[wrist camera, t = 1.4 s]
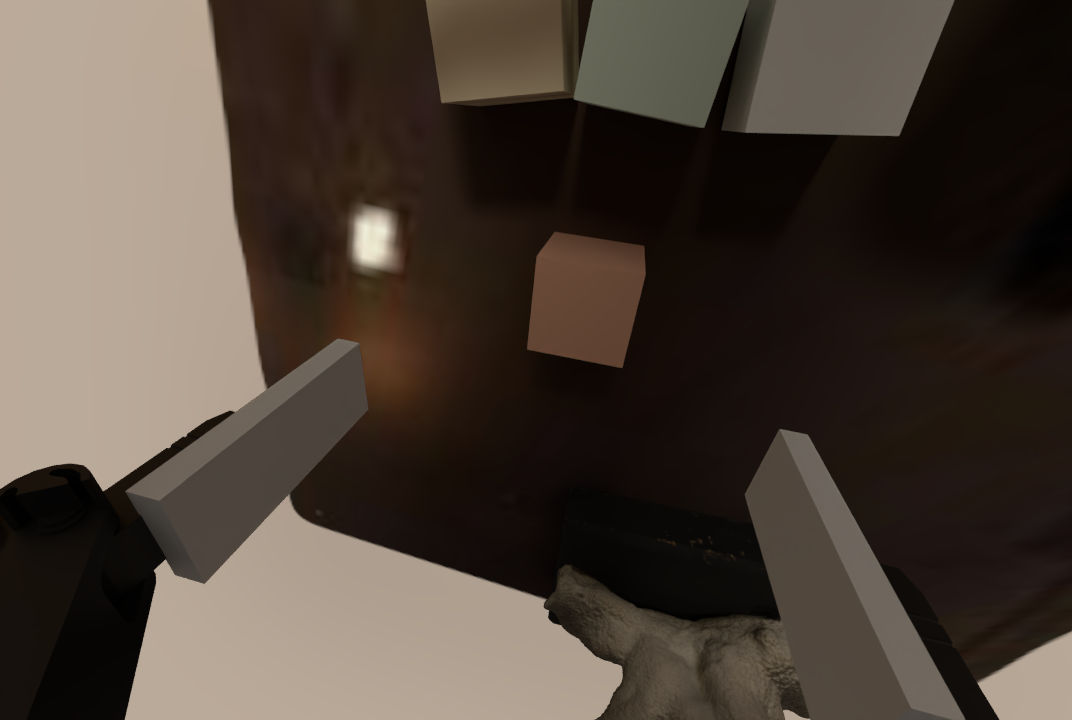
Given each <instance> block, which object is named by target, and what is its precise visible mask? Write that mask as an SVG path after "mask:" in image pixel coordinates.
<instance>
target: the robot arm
mask: <svg viewBox="0 0 1072 720" xmlns="http://www.w3.org/2000/svg"><path fill="white" fill-rule="evenodd" d="M367 410H368V404H367V397H366V389H365V382H364V375H363V367H362V360H361V353H360V345H359V343H356V342H352V341H347V340H342V339H337V340H335V341H334V342H333V343H331V344H330V345H328V346H327V347H326V348H324V349H323V350H321V351H320V352H319V353H317V354H316V355H314V356H313V357H312V358H310V359H309V360H308V361H306V362H305V363H303V364H302V365H301V366H299V367H298V368H296V369H295V370H294V371H292V372H291V373H289V374H288V375H287V376H285V377H284V378H282V379H281V380H280V381H278V382H277V383H275V384H274V385H273V386H271V387H270V388H268V389H267V390H266V391H264V392H263V393H262V394H260V395H259V396H258V397H256V398H255V399H253V400H252V401H250V402H249V403H248V404H246V405H245V406H244V407H242V408H241V409H239V410H238V411H236V412H233V411H228V412H226V413H223V414H221V415H219V416H216V417H214V418H212V419H210V420H207V421H205V422H204V423H202V424H201V425H199V426H198V427H197V428H195V429H194V430H192V431H191V432H189V433H188V434H187V436H186V437H182V438H181V439H179V440H178V441H176V442H175V443H173V444H172V445H171V447H170V448H166V449H165V450H163V451H162V452H160V453H159V454H157V455H156V456H154V457H153V458H152V459H150V460H149V461H147V462H146V463H144V464H143V465H141V466H140V467H139V468H137V469H136V470H134V471H133V472H131V473H130V474H128V475H127V476H126V477H124V478H123V479H121V480H120V481H118V482H117V483H115V484H114V485H113V486H111V487H109V488H108V489H107V490H105V491H102V489H101V488H100V486H99V484H98V483H97V481H96V480H95V478H94V477H93V475H92V474H91V472H90V471H89V470H88V469H87V468H86V467H84V466H83V465H77V464H62V465H54V466H51V467H47V468H43V469H40V470H36V471H33V472H31V473H29V474H27V475H24V476H22V477H20V478H18V479H16V480H14V481H12V482H11V483H9V484H7V485H6V486H4V487H3V488H1V489H0V720H125V716H126V711H127V707H128V703H129V698H130V694H131V690H132V685H133V681H134V676H135V672H136V667H137V663H138V659H139V655H140V650H141V646H142V642H143V637H144V632H145V628H146V624H147V620H148V615H149V611H150V607H151V602H152V597H153V594H154V589H155V585H156V574H155V572H154V569H156V568H157V567H158V566H159V565H160V564H161V563H162V562H163V561H164V560H165V559H166V560H167V562H168V564H169V565H170V567H171V569H172V570H173V572H174V574H175V575H177V576H180V577H184V578H187V579H190V580H194V581H197V582H200V583H204V584H205V583H206V582H207V581H208V580H209V578H210V577H211V576H212V575H213V574H214V573H215V572H216V571H217V570H218V569H219V568H220V566H222V565H223V563H225V561H226V560H227V559H228V558H229V557H230V556H231V555H232V554H233V553H234V552H235V551H236V550H237V549H238V548H239V547H240V545H241V544H242V543H243V542H244V541H245V540H246V539H247V538H248V537H249V536H250V535H251V534H252V533H253V532H254V531H255V530H256V529H257V527H258V526H259V525H260V524H261V523H262V522H263V521H264V520H265V519H266V518H267V517H268V516H269V514H271V512H272V511H273V510H274V509H275V508H276V507H277V506H278V505H279V504H280V503H281V502H282V501H283V500H284V499H285V498H286V496H288V494H289V493H290V492H291V491H292V490H293V489H294V488H295V487H296V486H297V485H298V484H299V483H300V482H301V481H302V480H303V479H304V477H305V476H306V475H307V474H308V473H309V472H310V471H311V470H312V469H313V468H314V467H315V466H316V465H317V464H318V463H319V462H320V460H321V459H322V458H323V457H324V456H325V455H326V454H327V453H328V452H329V451H330V450H331V449H332V448H333V447H334V446H335V444H336V443H337V442H338V441H339V440H340V439H341V438H342V437H343V436H344V435H345V434H346V433H347V432H348V431H349V430H350V429H351V427H352V426H353V425H354V424H355V423H356V422H357V421H358V420H359V419H360V418H361V417H362V416H363V415H364V414H365V413H366V412H367ZM745 498H746V501H747V505H748V508H749V511H750V515H751V518H752V522H753V525H754V528H755V532H756V535H757V539H758V542H759V545H760V549H761V552H762V556H763V559H764V563H765V566H766V569H767V573H768V576H769V580H770V583H771V586H772V590H773V593H774V597H775V600H776V603H777V607H778V610H779V614H780V617H781V620H782V624H783V627H784V631H785V634H786V638H787V641H788V644H789V648H790V651H791V655H792V658H793V661H794V665H795V668H796V672H797V675H798V678H799V682H800V685H801V689H802V692H803V696H804V699H805V702H806V706H807V709H808V713H809V716H810V719H811V720H999V718H998V717H997V715H996V713H995V712H994V710H993V709H992V707H991V705H990V704H989V702H988V700H987V699H986V697H985V695H984V694H983V692H982V690H981V689H980V687H979V685H978V684H977V682H976V681H975V679H974V677H973V676H972V674H971V672H970V671H969V669H968V667H967V666H966V664H965V663H964V661H963V659H962V658H961V656H960V654H959V653H958V651H957V649H955V648H953V647H952V641H951V640H950V638H949V636H948V635H947V633H946V631H945V630H944V628H943V627H942V625H939V624H938V618H937V617H936V615H935V613H934V612H933V610H932V608H931V607H930V605H929V604H928V602H927V600H926V599H925V597H924V595H923V594H922V592H921V591H920V590H919V589H918V588H917V587H916V586H915V585H914V584H913V583H912V582H911V581H910V580H909V579H908V578H907V577H906V576H905V575H904V574H903V573H902V572H901V571H900V570H899V568H896V567H892V566H887V565H883V564H879V563H878V561H877V559H876V557H875V555H874V554H873V552H872V550H871V548H870V546H869V545H868V543H867V541H866V539H865V537H864V535H863V534H862V532H861V530H860V528H859V526H858V525H857V523H856V521H855V519H854V517H853V516H852V514H851V512H850V510H849V508H848V507H847V505H846V503H845V501H844V499H843V498H842V496H841V494H840V492H839V490H838V489H837V487H836V485H835V483H834V481H833V479H832V478H831V476H830V474H829V472H828V470H827V469H826V467H825V465H824V463H823V461H822V460H821V458H820V456H819V454H818V452H817V451H816V449H815V447H814V445H813V443H812V442H811V440H810V438H809V436H808V435H807V434H802V433H797V432H792V431H787V430H782V429H779V431H778V433H777V435H776V437H775V438H774V440H773V442H772V444H771V446H770V448H769V450H768V452H767V453H766V455H765V457H764V459H763V461H762V463H761V465H760V467H759V469H758V470H757V472H756V474H755V476H754V478H753V480H752V482H751V484H750V486H749V487H748V489H747V491H746V493H745Z"/></svg>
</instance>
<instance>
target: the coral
mask: <svg viewBox="0 0 1072 720" xmlns="http://www.w3.org/2000/svg"><path fill="white" fill-rule="evenodd" d="M544 608H545V609H547V610H549V616H548V618H549V620H550V621H551V622H553V623H555V624H558V625H562V627H563V628H564V629H565V630H566V631H567V632H568V633H570V634H571V635H573V636H575V637H576V638H579V639H580V641H581V642H582V643H583V644H584V646H585V647H587V648H588V649H589V650H590V651H591V652H592V653H593V654H594V655H595V656H596V657H599V658H601V659H603V660H606V661H610V662H612V663H614V664H619V665H621V666H622V669H623V679H622V682H621V684H620V686H619V687H618V688H617V689H616V691H615V692H614V693H613V696H612V698H611V701H610V704H609V705H608V706H607V709H606V710H605V711H604V713H603V714H602V715H601V716H600V717H598V718H597V719H595V720H785V717H784V713H783V710H790V711H792V712H794V713H796V714H797V715H799V716H800V717H803V718H810V716H809V713H808V709H807V706H806V702H805V699H804V696H803V692H802V689H801V685H800V682H799V678H798V675H797V672H796V668H795V665H794V661H793V658H792V655H791V651H790V648H789V644H788V641H787V638H786V634H785V631H784V627H783V624H782V620H781V617H780V614H779V610H778V607H777V603H776V600H775V597H774V593H773V590H772V586H771V583H770V580H769V576H768V573H767V569H766V566H765V563H764V559H763V556H762V552H761V549H760V545H759V542H758V539H757V535H756V532H755V528H754V525H753V524H751V523H746V522H741V521H735V520H731V519H727V518H721V517H716V516H712V515H706V514H702V513H697V512H693V511H688V510H683V509H679V508H672V507H668V506H664V505H660V504H656V503H651V502H646V501H640V500H636V499H631V498H627V497H622V496H618V495H612V494H608V493H604V492H599V491H594V490H589V489H585V488H580V487H571V489H570V493H569V498H568V502H567V508H566V512H565V517H564V523H563V529H562V535H561V541H560V547H559V553H558V560H557V566H556V572H555V578H554V584H553V590H552V594H551V595H550V597H549V598H548V599H547V600H546V601H545V603H544Z"/></svg>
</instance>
